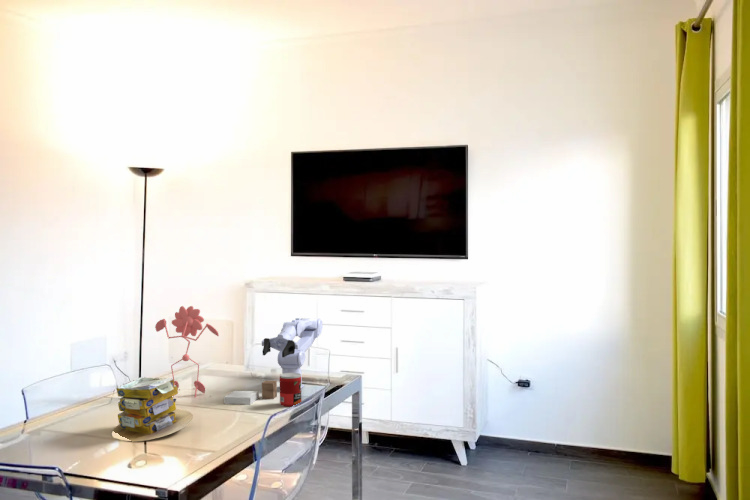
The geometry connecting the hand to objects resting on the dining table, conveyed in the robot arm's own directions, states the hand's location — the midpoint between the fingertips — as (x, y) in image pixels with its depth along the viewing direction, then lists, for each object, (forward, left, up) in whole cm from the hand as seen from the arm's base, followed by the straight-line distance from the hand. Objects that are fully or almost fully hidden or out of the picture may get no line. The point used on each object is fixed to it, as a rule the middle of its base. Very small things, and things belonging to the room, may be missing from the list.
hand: (273, 353), depth 241 cm
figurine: (-10, -37, -18) cm, 43 cm away
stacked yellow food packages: (+39, -28, -18) cm, 52 cm away
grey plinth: (0, -12, -18) cm, 22 cm away
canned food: (+4, +8, -18) cm, 20 cm away
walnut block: (-6, -3, -18) cm, 19 cm away
